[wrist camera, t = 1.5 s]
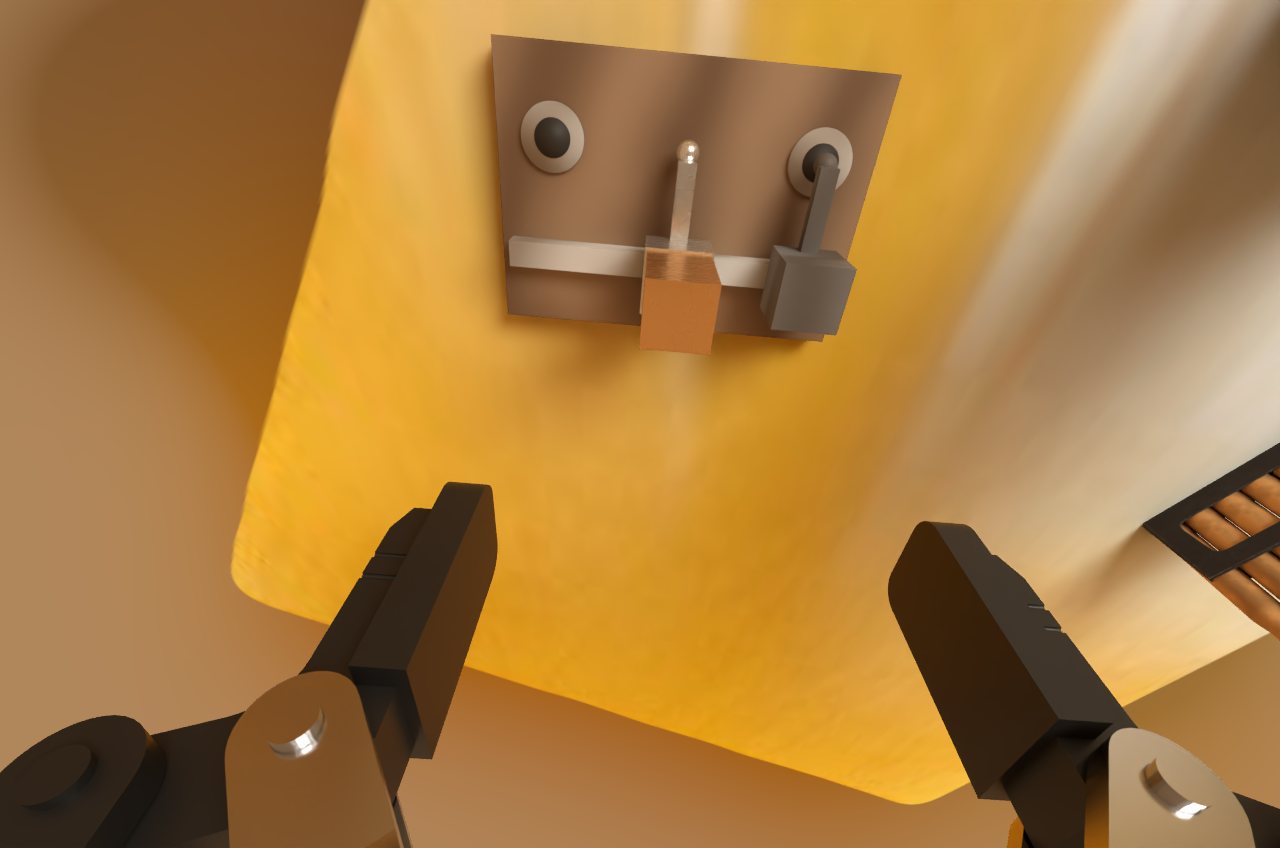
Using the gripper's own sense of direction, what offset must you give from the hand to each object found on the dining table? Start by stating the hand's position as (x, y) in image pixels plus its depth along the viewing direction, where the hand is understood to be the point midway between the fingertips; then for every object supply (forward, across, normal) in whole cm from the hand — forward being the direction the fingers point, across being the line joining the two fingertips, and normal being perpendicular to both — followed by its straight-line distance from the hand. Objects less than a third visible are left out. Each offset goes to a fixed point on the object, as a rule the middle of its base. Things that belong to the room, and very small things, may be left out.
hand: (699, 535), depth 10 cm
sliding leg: (+18, 0, -2) cm, 18 cm away
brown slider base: (+20, 0, -2) cm, 21 cm away
